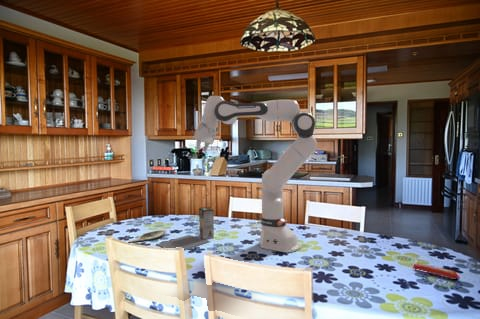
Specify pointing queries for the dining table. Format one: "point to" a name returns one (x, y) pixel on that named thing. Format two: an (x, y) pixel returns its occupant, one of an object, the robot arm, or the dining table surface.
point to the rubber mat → (183, 242)
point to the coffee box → (206, 222)
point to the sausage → (436, 270)
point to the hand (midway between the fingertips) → (201, 150)
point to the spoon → (150, 235)
